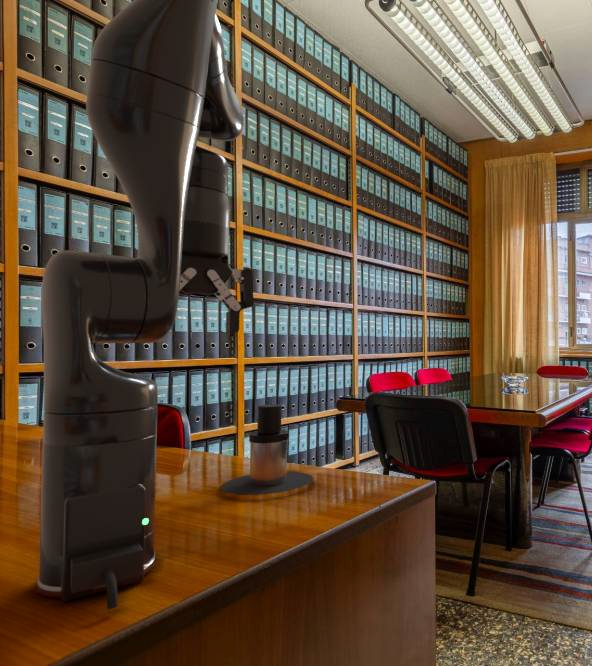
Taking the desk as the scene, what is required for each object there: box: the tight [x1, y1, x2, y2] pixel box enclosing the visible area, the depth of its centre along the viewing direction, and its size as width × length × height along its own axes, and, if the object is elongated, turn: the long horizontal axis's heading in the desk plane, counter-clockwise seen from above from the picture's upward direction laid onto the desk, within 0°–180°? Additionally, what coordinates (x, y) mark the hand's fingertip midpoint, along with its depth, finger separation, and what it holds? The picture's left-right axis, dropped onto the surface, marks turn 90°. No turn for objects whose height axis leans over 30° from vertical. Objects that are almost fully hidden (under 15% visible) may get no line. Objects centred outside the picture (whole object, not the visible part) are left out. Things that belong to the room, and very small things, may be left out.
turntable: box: [220, 470, 314, 496], centre depth 83 cm, size 14×14×1 cm
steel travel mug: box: [248, 403, 290, 487], centre depth 84 cm, size 8×6×13 cm
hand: (197, 336), depth 72 cm, fingers open, 8 cm apart
